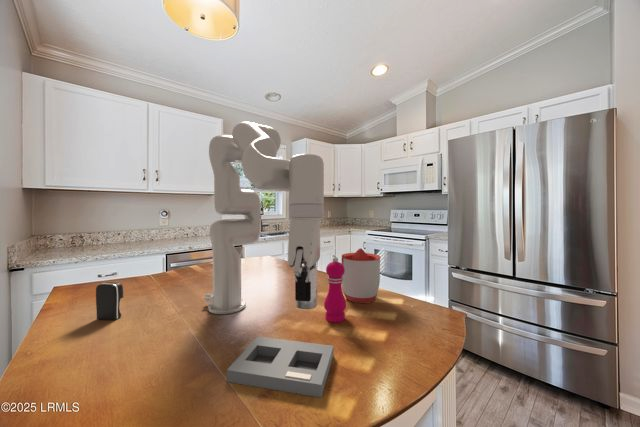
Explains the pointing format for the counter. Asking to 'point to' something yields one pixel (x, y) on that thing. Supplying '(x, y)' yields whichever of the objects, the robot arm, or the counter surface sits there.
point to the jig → (283, 366)
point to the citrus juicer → (361, 276)
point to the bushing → (313, 301)
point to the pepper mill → (335, 292)
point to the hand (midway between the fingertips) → (306, 295)
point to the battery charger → (108, 300)
